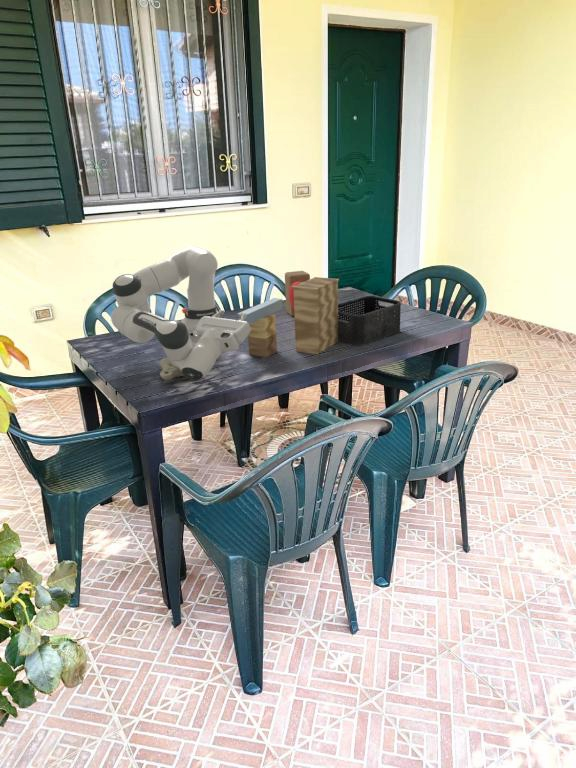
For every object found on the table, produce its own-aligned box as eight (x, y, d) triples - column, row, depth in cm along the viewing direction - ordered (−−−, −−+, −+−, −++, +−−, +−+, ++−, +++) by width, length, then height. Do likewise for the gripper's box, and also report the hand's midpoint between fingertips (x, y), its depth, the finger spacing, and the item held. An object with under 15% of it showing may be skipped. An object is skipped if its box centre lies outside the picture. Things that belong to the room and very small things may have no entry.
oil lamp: (185, 388, 197) (184, 375, 195) (146, 386, 200) (144, 373, 198) (205, 367, 216) (204, 354, 214) (169, 365, 219) (168, 353, 217)
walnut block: (266, 357, 223) (265, 338, 221) (249, 354, 227) (248, 336, 224) (276, 351, 230) (276, 333, 227) (260, 348, 234) (259, 330, 231)
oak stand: (318, 354, 223) (317, 288, 214) (294, 351, 229) (292, 286, 219) (339, 341, 238) (338, 279, 228) (316, 338, 243) (315, 277, 234)
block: (285, 312, 285) (284, 272, 277) (304, 310, 287) (303, 270, 280) (291, 317, 276) (290, 275, 268) (311, 314, 278) (310, 273, 271)
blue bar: (246, 325, 212) (246, 314, 210) (237, 324, 214) (237, 313, 212) (282, 308, 232) (282, 298, 231) (274, 307, 234) (273, 298, 233)
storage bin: (357, 347, 230) (358, 315, 225) (324, 337, 244) (323, 307, 239) (403, 332, 247) (404, 301, 242) (369, 323, 261) (370, 294, 256)
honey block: (265, 338, 220) (264, 319, 218) (247, 336, 224) (246, 317, 221) (276, 333, 227) (275, 314, 224) (259, 330, 231) (257, 312, 228)
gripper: (194, 343, 204) (213, 315, 211) (241, 350, 195) (259, 322, 202) (187, 330, 200) (206, 303, 207) (235, 337, 190) (253, 308, 197)
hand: (233, 312), depth 204 cm, fingers open, 8 cm apart
